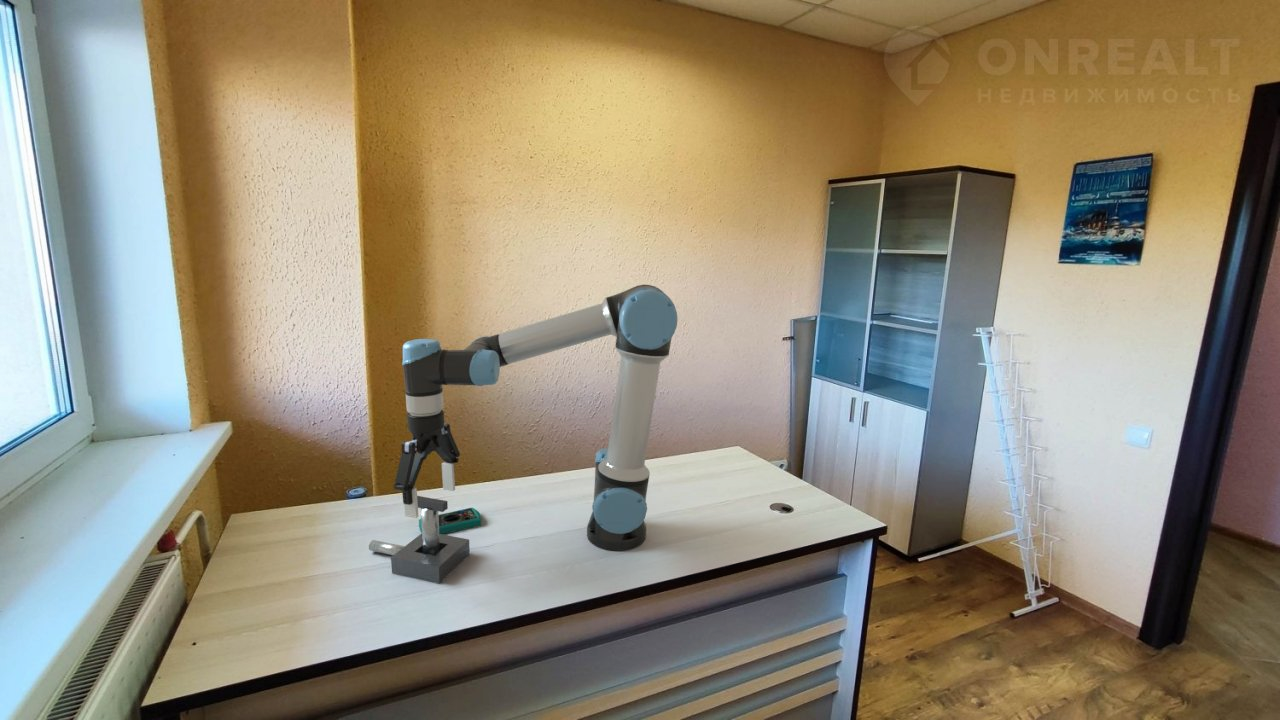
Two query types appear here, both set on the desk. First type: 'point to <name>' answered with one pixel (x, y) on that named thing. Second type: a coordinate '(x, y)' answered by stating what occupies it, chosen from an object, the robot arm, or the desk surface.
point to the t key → (431, 523)
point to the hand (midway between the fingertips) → (431, 502)
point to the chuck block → (425, 557)
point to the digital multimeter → (457, 520)
